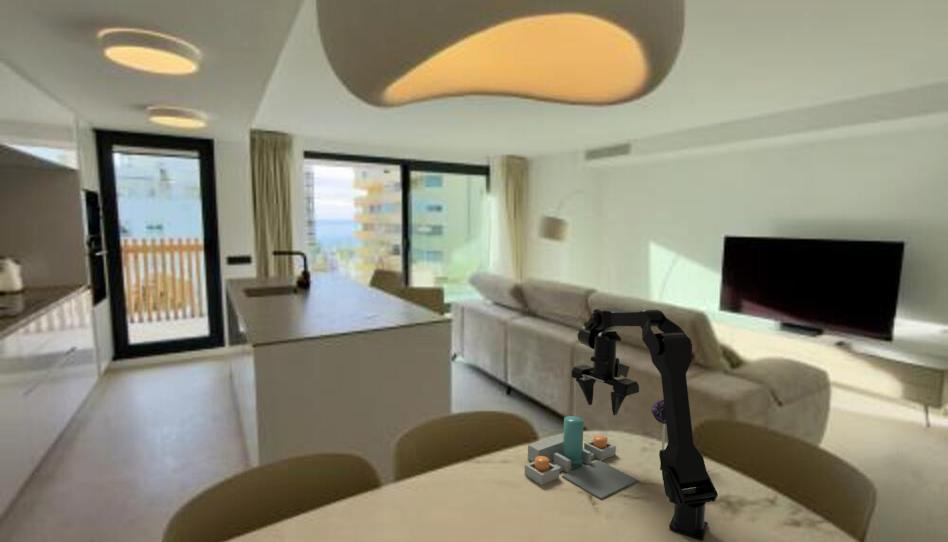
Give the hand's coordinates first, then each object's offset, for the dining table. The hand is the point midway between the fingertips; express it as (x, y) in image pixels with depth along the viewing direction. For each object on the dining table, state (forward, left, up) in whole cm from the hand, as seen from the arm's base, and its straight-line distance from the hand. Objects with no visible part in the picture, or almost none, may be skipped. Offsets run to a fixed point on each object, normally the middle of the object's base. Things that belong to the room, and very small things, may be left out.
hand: (602, 409), depth 128 cm
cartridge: (-11, +4, -12) cm, 17 cm away
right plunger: (0, 0, -11) cm, 11 cm away
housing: (-10, +7, -12) cm, 17 cm away
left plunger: (-21, +8, -11) cm, 25 cm away
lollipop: (+10, -14, -13) cm, 22 cm away
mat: (-14, -5, -12) cm, 19 cm away
